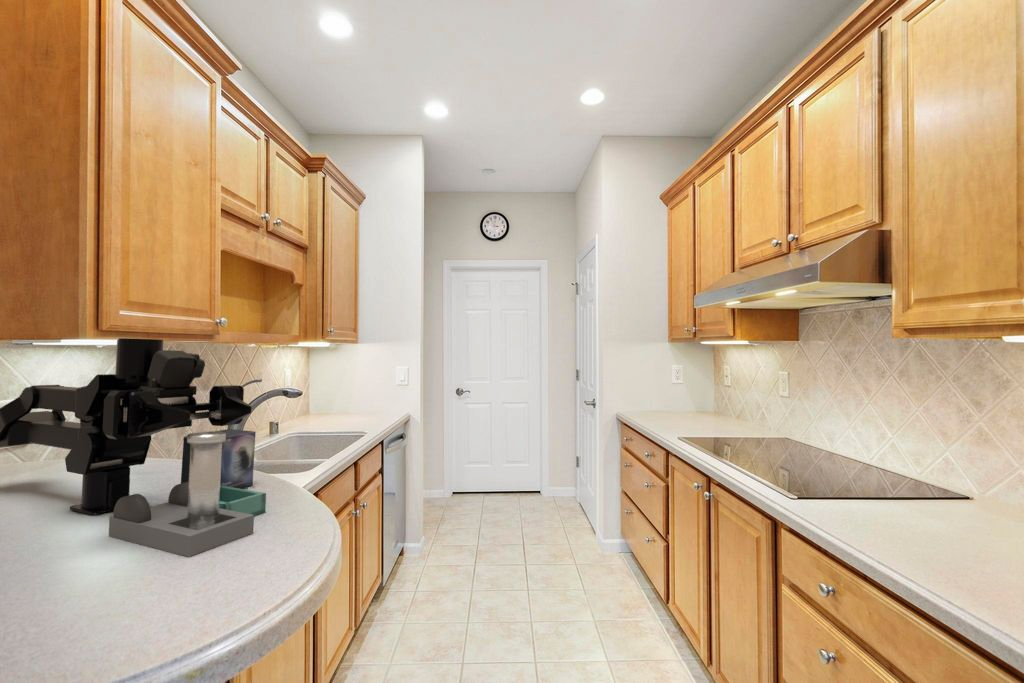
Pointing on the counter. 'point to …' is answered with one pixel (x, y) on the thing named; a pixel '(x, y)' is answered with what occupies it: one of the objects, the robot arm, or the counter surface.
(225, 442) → the small box
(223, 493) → the tray
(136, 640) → the counter surface
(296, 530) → the counter surface
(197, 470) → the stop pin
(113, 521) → the socket plate with bumps
